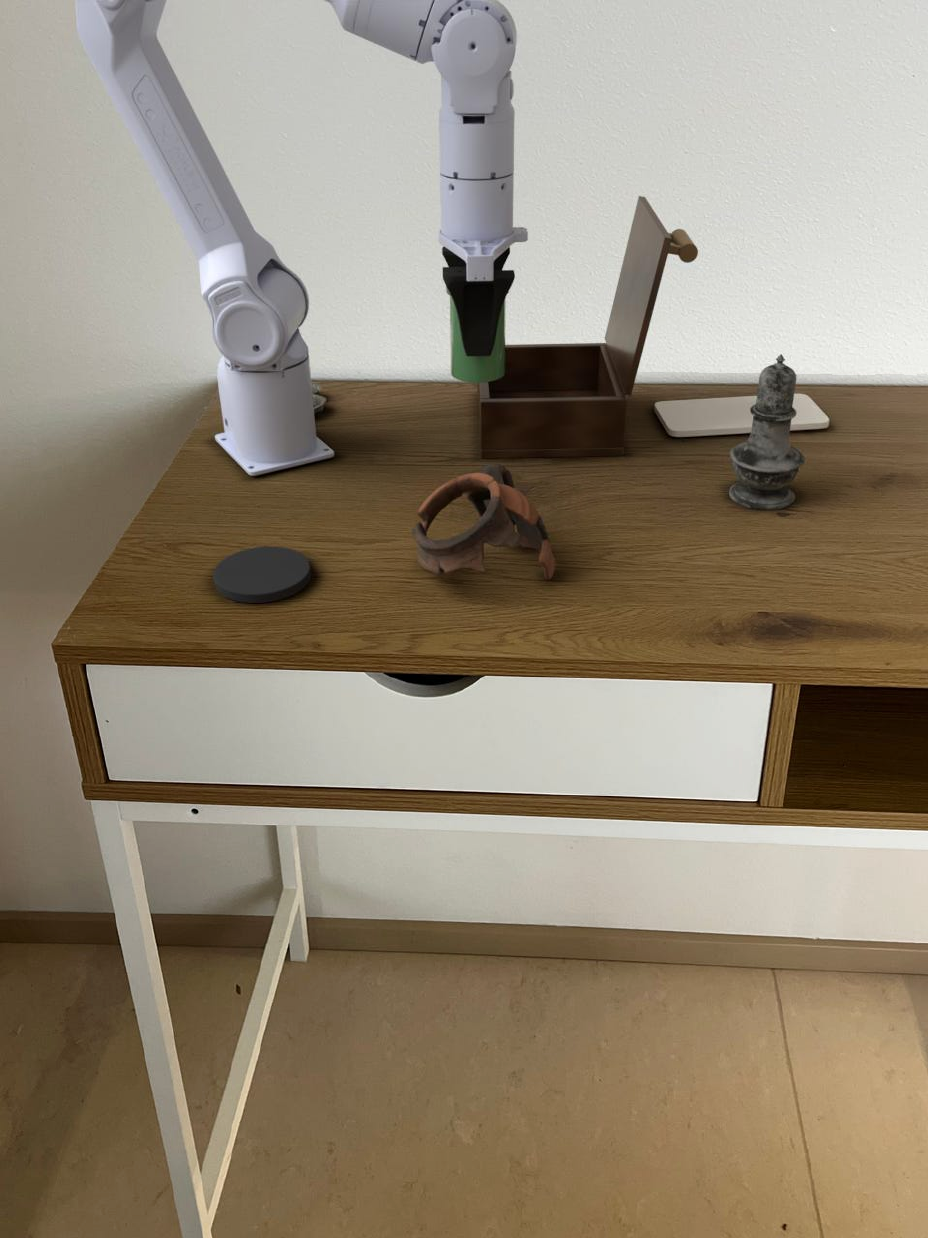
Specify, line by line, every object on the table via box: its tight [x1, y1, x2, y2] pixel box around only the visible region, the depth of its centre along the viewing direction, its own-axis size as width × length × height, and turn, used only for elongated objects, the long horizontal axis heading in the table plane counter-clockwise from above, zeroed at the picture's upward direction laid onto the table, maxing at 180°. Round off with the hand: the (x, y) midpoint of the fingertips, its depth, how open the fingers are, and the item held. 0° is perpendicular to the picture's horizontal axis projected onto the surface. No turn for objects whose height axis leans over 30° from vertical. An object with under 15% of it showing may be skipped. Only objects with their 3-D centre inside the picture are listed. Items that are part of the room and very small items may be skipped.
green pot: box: [445, 286, 510, 384], centre depth 95 cm, size 5×5×8 cm
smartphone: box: [653, 393, 830, 438], centre depth 107 cm, size 7×1×15 cm
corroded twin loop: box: [311, 381, 327, 415], centre depth 111 cm, size 5×8×1 cm, turn 13°
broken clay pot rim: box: [411, 462, 555, 581], centre depth 84 cm, size 12×10×8 cm
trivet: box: [213, 546, 312, 604], centre depth 84 cm, size 7×7×1 cm
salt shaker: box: [728, 354, 805, 511], centre depth 91 cm, size 6×6×12 cm
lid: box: [604, 195, 699, 397], centre depth 101 cm, size 13×15×4 cm
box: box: [476, 342, 628, 459], centre depth 106 cm, size 13×15×5 cm
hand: (477, 343), depth 96 cm, fingers closed on green pot, 5 cm apart
